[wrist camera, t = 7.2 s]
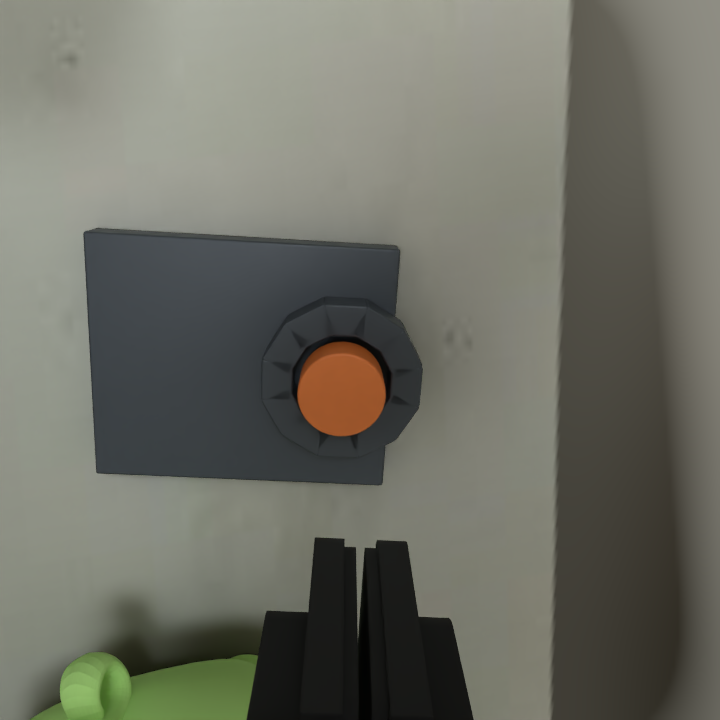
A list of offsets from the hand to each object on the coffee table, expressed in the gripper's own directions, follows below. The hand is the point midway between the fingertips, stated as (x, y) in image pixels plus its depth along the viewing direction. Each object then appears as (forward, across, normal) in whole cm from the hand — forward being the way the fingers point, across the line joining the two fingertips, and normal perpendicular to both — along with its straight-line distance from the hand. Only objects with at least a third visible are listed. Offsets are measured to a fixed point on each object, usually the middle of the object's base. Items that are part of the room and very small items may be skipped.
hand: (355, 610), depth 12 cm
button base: (+17, +4, 0) cm, 17 cm away
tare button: (+14, 0, 0) cm, 14 cm away
